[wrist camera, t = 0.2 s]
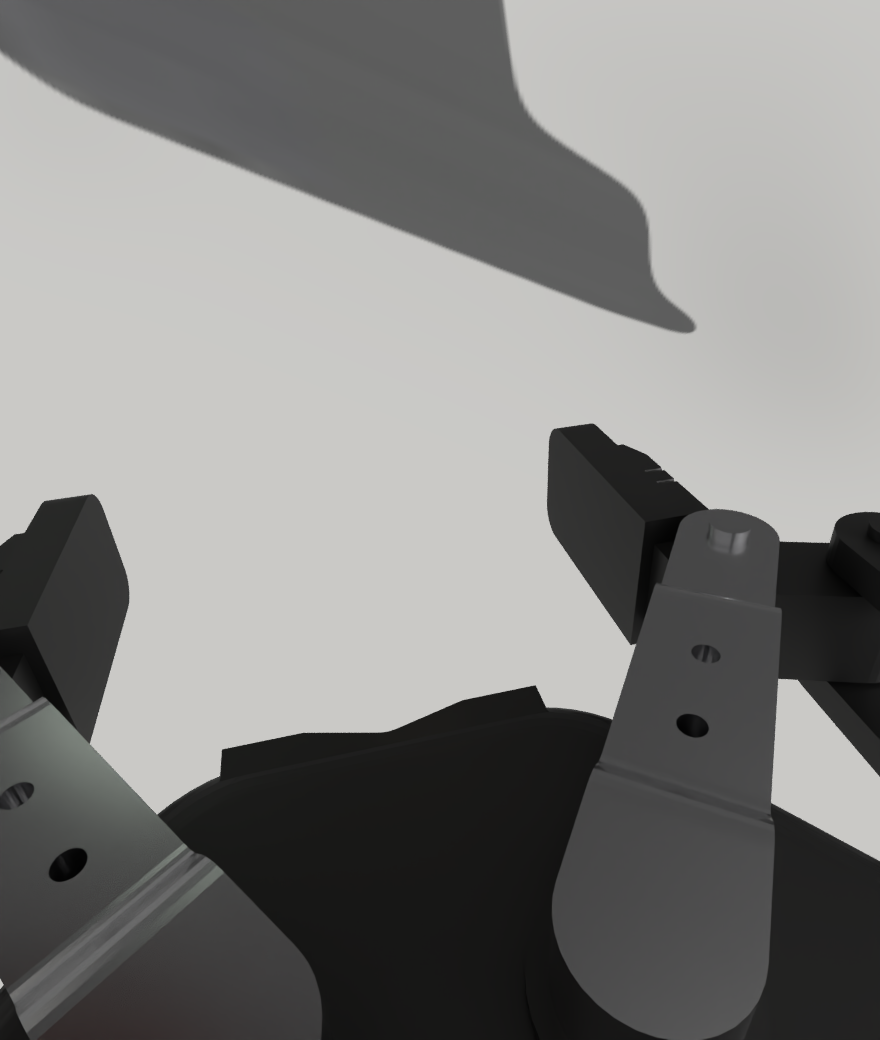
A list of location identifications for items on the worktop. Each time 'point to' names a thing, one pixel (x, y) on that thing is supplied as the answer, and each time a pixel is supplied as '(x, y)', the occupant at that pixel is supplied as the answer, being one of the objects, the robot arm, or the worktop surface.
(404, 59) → the worktop surface
